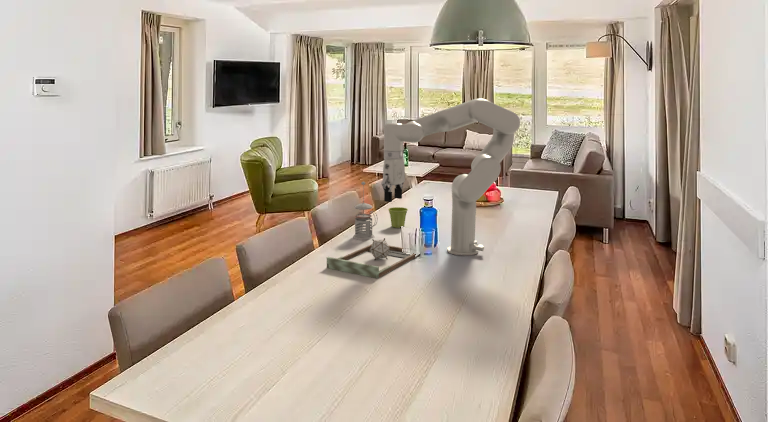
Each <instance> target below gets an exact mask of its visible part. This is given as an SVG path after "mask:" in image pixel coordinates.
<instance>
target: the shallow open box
mask: <svg viewBox="0 0 768 422" xmlns="http://www.w3.org/2000/svg"><path fill="white" fill-rule="evenodd" d="M388 245H389V244H388ZM371 246H372V243H371V244H369V245H367V246H364V247H362V248H360V249H358V250H355V251H353V252H351V253H349V254H348V253H347V254H346V255H344V256H340V257H337V258H336V257H330V256H327V257H326V268H327V269H330V270H336V271H341V272H345V273H349V274H354V275H359V276H364V277H368V278H372V277H373V279H379V278H381V277H383V276H384V275H386V274H388V273H390V272H391V271H393V270H395V269H397V268H399V267H401V266H403V265H405V264H406V263H409V262H410V261H412V260H414V259H416V258H415V255H416V254H414V253H413V254H412V255H410V254H406V253H403V252H402V249H403V248H404V247H401V246H400V247H399V246H395V245H394V246H393V245H389V247H392V248H390V250H389V252H388V255H387V257H388V256H390V257H395V258H400V260H399V261H397V262H395V263H393V264H390V265H387V266H386V267H384V268H382V269H380V267H379V266H378V265H377V266H376V265H373V264H367V263H362V262H356V261H353V260H352V261H351V259H352V258H355V257H357V256H359V255H361V254H363V253H366V252H368V253H371V252H370V251H368V250H370V248H371Z"/></svg>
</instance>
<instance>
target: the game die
mask: <svg viewBox="0 0 768 422" xmlns="http://www.w3.org/2000/svg"><path fill="white" fill-rule="evenodd" d="M371 240H372V243H371V244H372V246H371V248H370V250H368V251H370V252H369V253H371V255H372V256H373V257H374V261H376V260H378V259H386V260H388V252H389V250H390V248H392V247H389V244H388V243H387V241H386V237H385V238H383V239H374V238H372V239H371Z"/></svg>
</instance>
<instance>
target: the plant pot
mask: <svg viewBox="0 0 768 422" xmlns="http://www.w3.org/2000/svg"><path fill="white" fill-rule="evenodd" d="M387 210H388V212H389V217H390V223H391V224H390V226H391V228H396V229H401V228H400V227H401V226H404V227H405V223H406V216H407V212H408V211H409V209H408V208H407V207H399V206H396V207H394V206H393V207H390V208H388V209H387Z"/></svg>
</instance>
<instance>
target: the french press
mask: <svg viewBox="0 0 768 422" xmlns="http://www.w3.org/2000/svg"><path fill="white" fill-rule="evenodd" d="M360 185H362V193H363V194H362V196H363V197H362V201H363V202H361V203H358V204H356V205H355V206H354V209H355V210H360V211H363V212H362V213H360V214H356V215H355V218H354V233H355V234H354V235H352V238H353V239H355V240H362V241H363V240H372V239H374V238H375V235H374V234H373V228H374V227H375V226H376V225H377V223H378V221H377V220H378V219H379V217H378V214H377V212H375V211H374V210H372V209H373V205H372V204H369V203H366V202H365V201H364V199H365V198H364V189H365V188H364V187H365V186H364V185H366V182H365V181H362V182H361V184H360ZM367 210H371V211H369V214H368V213H365V211H367ZM372 215H373V216H374V218H376V219H374V224H373V218H372Z"/></svg>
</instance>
